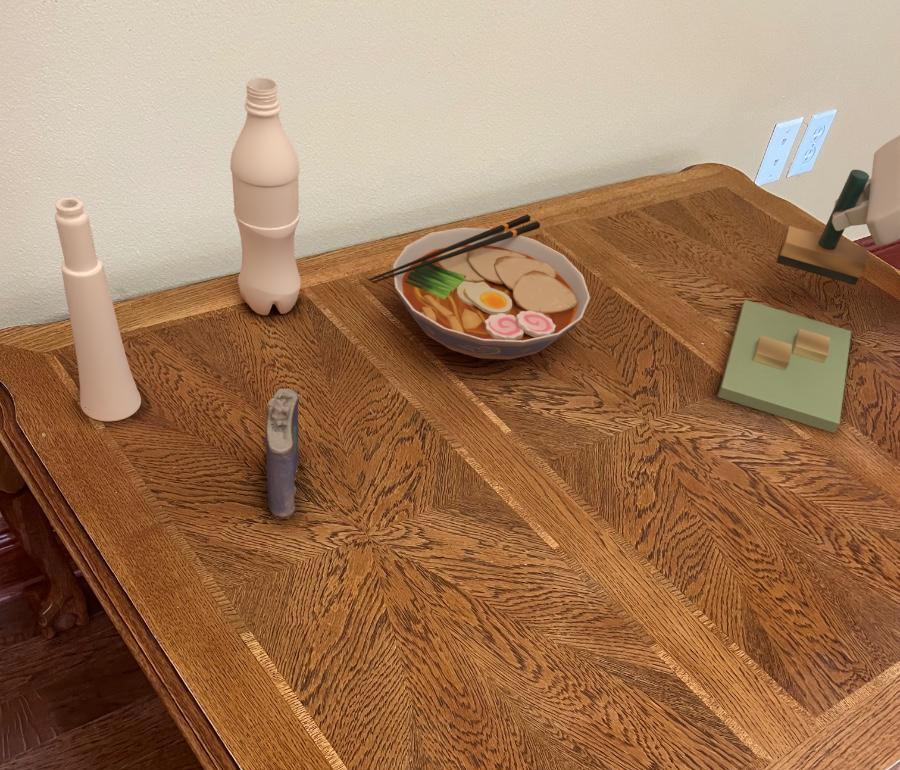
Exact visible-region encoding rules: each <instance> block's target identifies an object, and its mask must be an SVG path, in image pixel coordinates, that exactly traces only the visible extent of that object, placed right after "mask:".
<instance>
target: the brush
mask: <svg viewBox="0 0 900 770" xmlns="http://www.w3.org/2000/svg"><path fill="white" fill-rule="evenodd" d="M868 179H870V175H869V173H868V172H866V171H864V170H861V169H852V170H851V171H850V172H849V174H848V177H847V178H846V180H845V183H844V185H843V188H842V190H841V192H840V194H839V196H838V198H837V199H838V200H837V199H836V200H837V203H836V205H835V204H834V206H835V207H833V210H832V212H831V214H830V216H829V218H828V220H827V223H826V224H825V227H824V229H823V231H822V233H821V234H820V233H817V232H814V231H813V232H812V231H809V230H806V229H802V228H798V227H795V226H792V225H789V226H788V228H787V230H786V233H785V235H784V237H783V240H782V242H781V245H780V246H779V250H778V254H777V259H776V264H779V265H782V266H785V267H789V268H793V269H796V270H800V271H804V272H807V273H810V274H813V275H817V276H820V277H824V278H827V279H830V280H834V281H837V282H841V283H844V284H848V285H851V286H856V285H857V283H858V281H859V279H860V278H861V276H862V274H863V272H864V270H865V268H866V266H867V260H868V252H869V251H868V250H869V249H868V247H865V246H862V245H858V244H856V243H851V242H848V241H844V240H842V239H841V238H842V236H843V233H844V231H845V229H843V230H841V231H836V230H835V228H834V226H833V224H832V218H833V214H834V213H835V212H838V211H840V210H842V209H844V208H846V207H847V210H848V209H851V208H854V207H855V206H856V204H857V202H858V200H859V198H860V196H861V194H862V192H863V189H864V187H865V185H866V183H867V181H868Z"/></svg>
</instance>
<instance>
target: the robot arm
mask: <svg viewBox="0 0 900 770" xmlns="http://www.w3.org/2000/svg"><path fill="white" fill-rule="evenodd" d="M872 160H873V161H872V170H871V176H870V177H869V179H868V181H867V183H866V185H865V187H864V189H863V192H862V194H861V196H860V198H859V200H858V202H857V204H856V206H855V207H854V208H851V209H848V210H847V207H846V208H844V209H842V210H840V211H838V212H835V213H834V214H833V218H832V224H833V226H834V228H835V230H836V231H841V230H843V229H844V230H846V229H847V228H849V227H854V226H863V225H866V226H867V230H868V231H869V234H870V236H871V238H872V241H873V242H874V245H875V246H879V247H880V246H887V245H891V244H893V243H895V242H897V241H899V240H900V134H898V136H896V137H894V138H892V139H891V140H889V141H887V142H886V143H884V144H883V145H881V147H879V148H878V149H877V150H876V151H875V152H874V154H873V159H872ZM837 200H838V198H837V199H836V200H835V201H834V207H835V205H836V203H837ZM834 207H833V208H834Z"/></svg>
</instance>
